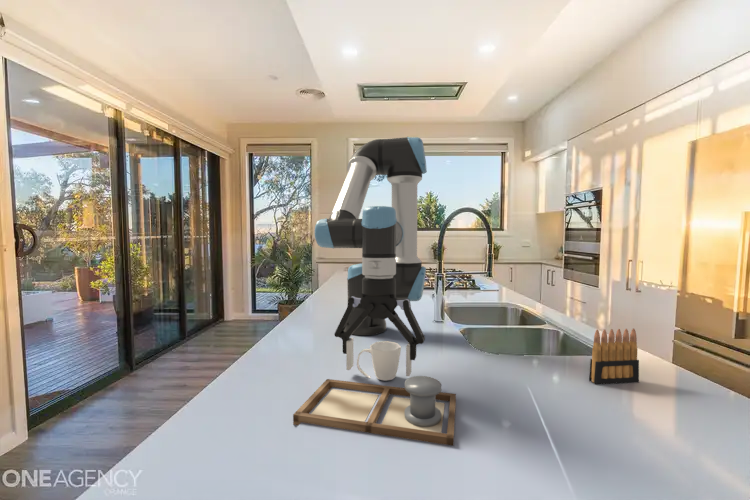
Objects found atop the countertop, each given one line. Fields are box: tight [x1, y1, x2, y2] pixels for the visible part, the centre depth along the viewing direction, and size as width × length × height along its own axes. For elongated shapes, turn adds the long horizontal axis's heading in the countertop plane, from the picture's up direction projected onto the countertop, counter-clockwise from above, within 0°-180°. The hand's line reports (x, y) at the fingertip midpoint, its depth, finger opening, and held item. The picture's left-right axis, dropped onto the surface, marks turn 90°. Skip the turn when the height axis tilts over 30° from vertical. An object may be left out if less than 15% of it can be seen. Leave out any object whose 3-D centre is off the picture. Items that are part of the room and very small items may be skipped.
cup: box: [356, 340, 402, 382], centre depth 76 cm, size 7×10×8 cm
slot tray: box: [292, 378, 457, 447], centre depth 62 cm, size 15×27×2 cm, turn 75°
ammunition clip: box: [588, 328, 640, 386], centre depth 76 cm, size 11×2×12 cm, turn 96°
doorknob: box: [404, 375, 442, 427], centre depth 60 cm, size 6×6×6 cm
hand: (378, 370), depth 76 cm, fingers open, 13 cm apart
